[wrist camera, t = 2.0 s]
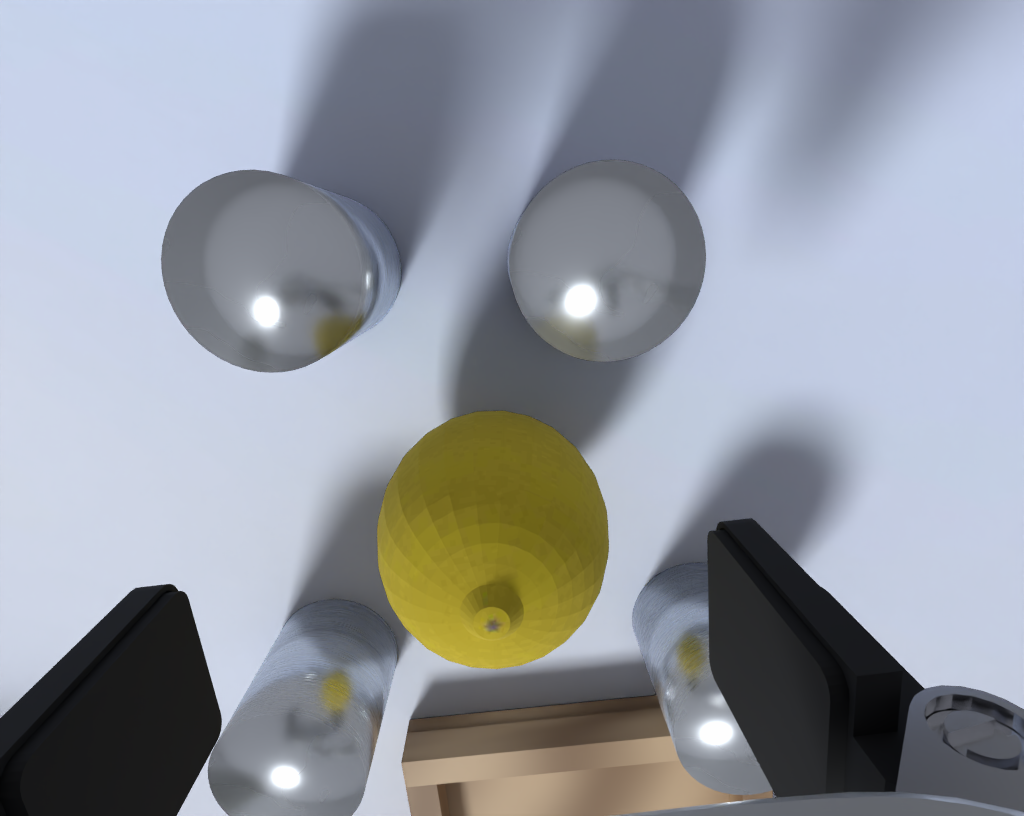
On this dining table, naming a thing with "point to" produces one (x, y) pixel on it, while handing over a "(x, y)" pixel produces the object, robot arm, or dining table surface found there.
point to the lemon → (492, 540)
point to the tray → (551, 762)
